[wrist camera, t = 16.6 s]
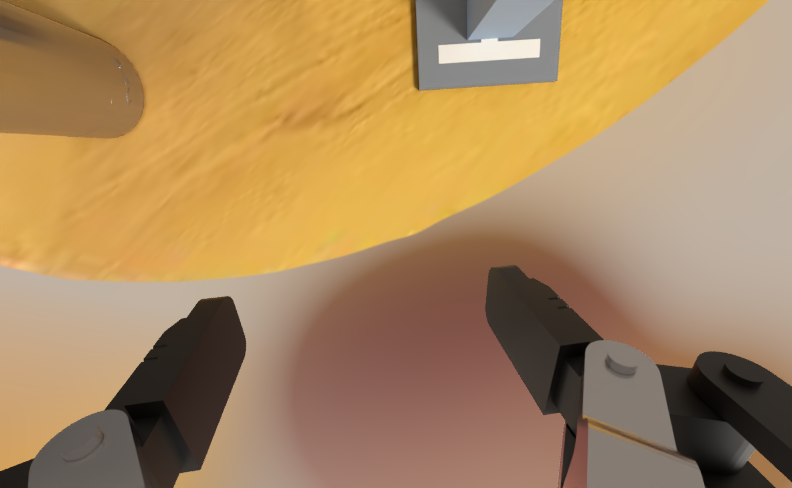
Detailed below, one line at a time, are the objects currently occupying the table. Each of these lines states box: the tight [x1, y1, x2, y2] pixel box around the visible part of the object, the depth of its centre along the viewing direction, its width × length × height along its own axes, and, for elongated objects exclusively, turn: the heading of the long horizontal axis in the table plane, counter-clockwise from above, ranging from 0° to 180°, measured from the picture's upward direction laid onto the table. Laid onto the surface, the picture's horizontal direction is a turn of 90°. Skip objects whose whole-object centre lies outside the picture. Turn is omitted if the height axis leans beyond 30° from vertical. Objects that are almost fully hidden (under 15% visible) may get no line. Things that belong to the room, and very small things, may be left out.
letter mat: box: [415, 0, 563, 91], centre depth 30 cm, size 14×13×1 cm
